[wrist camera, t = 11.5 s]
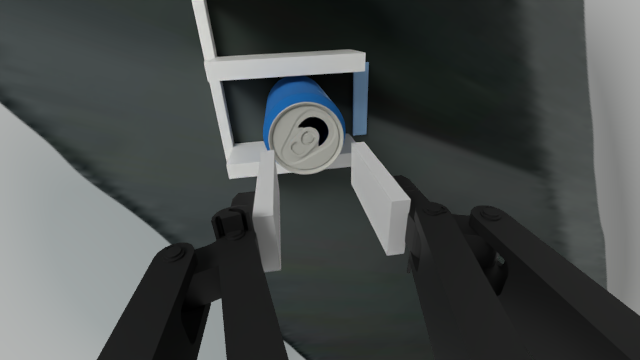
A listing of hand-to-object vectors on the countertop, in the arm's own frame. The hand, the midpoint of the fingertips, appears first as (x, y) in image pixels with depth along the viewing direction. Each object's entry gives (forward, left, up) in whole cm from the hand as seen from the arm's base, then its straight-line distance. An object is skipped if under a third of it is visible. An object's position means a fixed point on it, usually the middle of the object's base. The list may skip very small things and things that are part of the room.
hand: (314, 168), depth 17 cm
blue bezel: (0, +7, -17) cm, 18 cm away
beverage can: (0, 0, -17) cm, 17 cm away
